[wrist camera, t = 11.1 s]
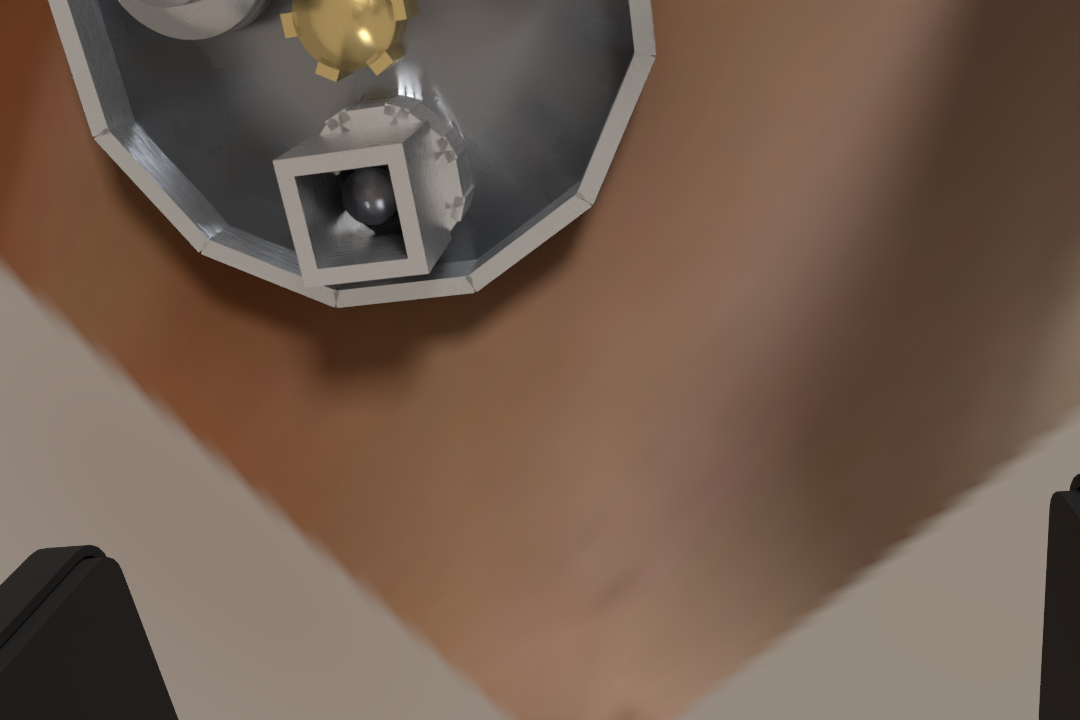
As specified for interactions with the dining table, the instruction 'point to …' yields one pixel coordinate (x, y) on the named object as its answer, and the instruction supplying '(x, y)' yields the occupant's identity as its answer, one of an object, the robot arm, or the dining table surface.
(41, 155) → the dining table surface
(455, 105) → the tray
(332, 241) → the grey hollow boxy piece
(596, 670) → the dining table surface
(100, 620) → the robot arm
